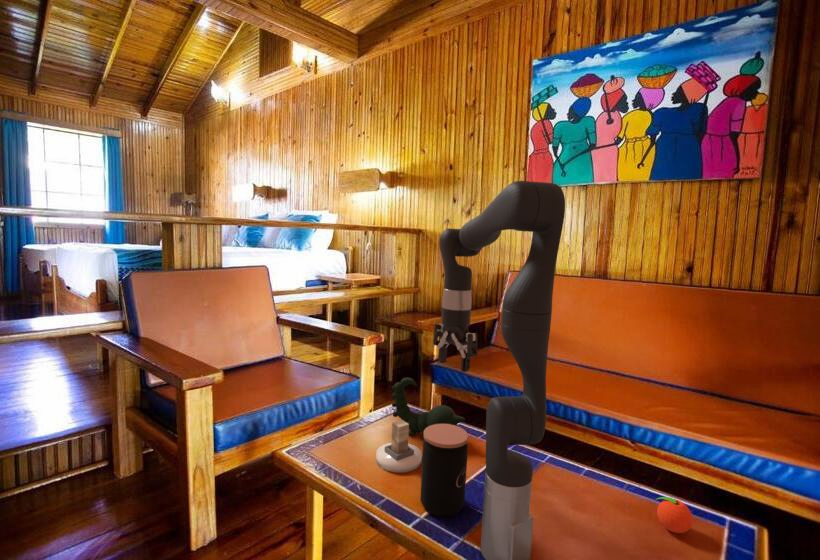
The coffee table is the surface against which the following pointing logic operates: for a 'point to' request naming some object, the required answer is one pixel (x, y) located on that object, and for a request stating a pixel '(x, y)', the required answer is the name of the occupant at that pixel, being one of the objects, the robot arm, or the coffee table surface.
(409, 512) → the coffee table surface
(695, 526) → the coffee table surface
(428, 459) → the coffee jar
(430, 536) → the coffee table surface
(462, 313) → the robot arm
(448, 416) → the toy figurine
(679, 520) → the clementine
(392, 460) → the candle dish
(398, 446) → the wood grain block
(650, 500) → the coffee table surface
